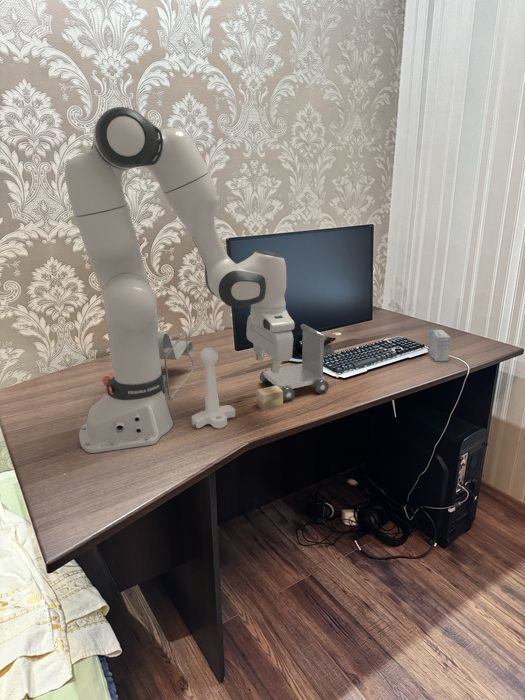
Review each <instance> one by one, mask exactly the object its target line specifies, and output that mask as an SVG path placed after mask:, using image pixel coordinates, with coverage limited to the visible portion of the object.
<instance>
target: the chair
mask: <svg viewBox="0 0 525 700" xmlns="http://www.w3.org/2000/svg"><path fill="white" fill-rule="evenodd" d="M184 336H185V340H181V339H182V338H183V337H184ZM188 338H189V337H188V333H187V332H186V331H184V332H183V333H182V334H181V336H179V337H178V339H177V340H171V338H170V336H169V333H168V332H161V331H160V332H159V331H158V346H159V356H160V360H164V369H165V371H164V372H165V374H163V376H164V381H165V382H166V390H167V395H168V396H167V398H168V399H169V400H173V399H174V397H175V396H176V394H177V393H178V392H177V391H179V390H180V389H181V388H182V387H183V385H184V384H185V382H186V381H187V380H188V379H187V378H190V377H191V375H190V374H192V373H194V371H195V362H194V361H195V360H194V359H193V358H192V354H193V349H194V348H193V347H194V346H193V345H194V344H193V342H192V341H191V340H189V339H188ZM181 356H187V357H189V359H190V361H191V362H192V363H191V365H192V366H191V370H190V372H189V373H188V375H187V376H186V377H185V378H184V379H183V381H182V382H181V384H180V385H179V386H178V387H177V389H175V391H174V393H172V395H171V392H170V385H169V375H168V365H167V363H168V362H167V360H174V361H175V360H176V361H177V360H180V359H181ZM186 379H187V380H186ZM183 383H184V384H183ZM182 384H183V385H182ZM180 387H181V388H180ZM179 388H180V389H179ZM176 392H177V393H176ZM174 395H175V396H174ZM173 396H174V397H173Z"/></svg>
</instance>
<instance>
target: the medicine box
mask: <svg viewBox="0 0 525 700" xmlns="http://www.w3.org/2000/svg"><path fill="white" fill-rule="evenodd" d="M450 345H451V336H450V334H448V333H447V332H446V331H444V330H443V329H431V330H429V336H428V347H427V354H428V355H429V356H430V357H431V358H432V359H433V361H435V362H448V360H449V355H450V353H449V352H450Z"/></svg>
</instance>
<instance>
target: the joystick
mask: <svg viewBox="0 0 525 700" xmlns="http://www.w3.org/2000/svg"><path fill="white" fill-rule="evenodd" d="M199 357H200V361H201V362H202V364H204V371H205V372H204V374H205V375H204V378H205V379H204V381H205V382H204V384H205V385H204V386H205V387H204V391H205V393H204V394H205V396H204V397H205V398H204V399H205V403H204V404H205V405H204V406H205V409H204V410H202V411H199V412H197V413H195V414H193V415H192V416H191V425H192V426H193V427H195V428H196V429H200V428H202V427H204V426H207V425H211V427H213V428H215V429H223V428H225V427H226V426H227V425H228V419H229V418H235V417H236V408H235V407H233V406H231V405H230V404H229V405H228V404H225V405H220V400H219V393H218V391H219V390H218V384H217V374H216V363H217V362H218V359H219V353H218V350H217V349H216V348H214V347H212V346H206V347H204V348H203V349H202V350H201V351H200V355H199Z"/></svg>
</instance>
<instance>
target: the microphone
mask: <svg viewBox="0 0 525 700" xmlns="http://www.w3.org/2000/svg"><path fill="white" fill-rule="evenodd" d="M336 339H337V338H336V337H332V336H327V339H326V340H325V341H324V345H327V344H330V343H331V342H333V341H335V340H336Z"/></svg>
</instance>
